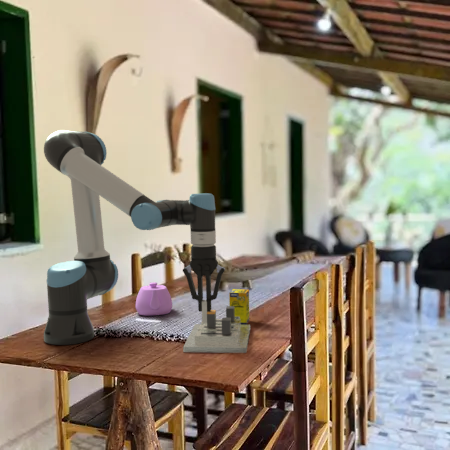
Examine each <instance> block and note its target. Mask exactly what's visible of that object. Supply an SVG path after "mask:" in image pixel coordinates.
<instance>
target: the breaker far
mask: <svg viewBox="0 0 450 450" xmlns="http://www.w3.org/2000/svg"><path fill="white" fill-rule="evenodd" d="M225 318H231V321H234V319H235V309H234V306H230V305H229V306H227V305H226V308H225Z"/></svg>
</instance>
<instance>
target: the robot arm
mask: <svg viewBox="0 0 450 450" xmlns="http://www.w3.org/2000/svg"><path fill="white" fill-rule="evenodd" d="M107 153H108V152H107V147H106V144H105V142H104V141H103V139H102V138H101V137H100V136H99V135H98V134H95V133H94V132H93V133H92V132H89V131H79V130H74V131H73V130H65V129H59V130H57V131H54V132H53V133H51V134H50V135H49V136H48V137H47V138H46V139H45V142H44V144H43V154H44V157H45V159H46V162H48V164H49V165H50V166H51V167H52V168H54V169H55V170H57V171H58V172H59V173H61V174H62V175H64V176H67V178H69V179H70V186H71V193H72V194H71V195H72V204H73V212H74V223H75V233H76V235H75V236H76V244H77V253H76V254H75V255H74V257H73V260H67V261H64V262H63V261H61V262H58V263H56V264H53V265H51V266H50V267H48V269H47V272H46V276H47V277H46V285H47V286H46V289H47V303H48V305H47V306H48V317H47V321H46V324H45V328H44V332H43V341H44V343H46V344H49V345H57V346H68V345H76V344H82V343H85V342H88V341H90V340H92V339H93V338H94V337H95V328H94V325H93V323H92V321H91V318H90V316H89V312H88V300H89V299H92V298H96V297H98V296H102V295H105V294H107V293H109V292H110V291H112V289H114V288H115V287H116V285H117V283H118V279H119V269H118V266H117V265H116V263H115V262H114V261H113V260H111V255H110V252H108V251H107V250H106V248H105V242H104V232H103V230H104V228H103V222H102V211H101V199H100V197H101V198H103V199H104V200H105V201H107V202H109V203H110V204H111V205H112V206H114V207H116V209H118V210H120V211H121V212H122V213H125V214H126V215H127V216H129V217H130V220H131V222H132V224H133V226H135V228H136V229H138V230H140V231H151V230H156V229H160V228H164V227H169V226H170V227H171V226H190V244H191V247H190V257H191V258H190V262H189V265H187V266H185V267H184V268H183V269H182V272H183V273H184V275H185V277H186V280H187V283H188V288H189V292H190V294H191V295H190V296H191V299H192V300H195V301H197V303H198V304H197V305H198V307H197V308H198V312H201V322H202V323H207V312H210V311H211V310H212V301H213V300H216V299H217V298H218V294H219V288H220V285H221V279H222V275H223V274H224V273H225V271H226V267H225V266H221V265H219V262H218V260H217V246H216V245H215V244H216V243H217V242H216V241H217V240H216V239H217V238H216V237H217V235H216V234H217V233H216V232H217V231H216V210H217V209H216V203H215V202H216V200H215V195H213V194H212V193H207V192H205V193H191V194H190V195H189V199H186V200H183V199H181V200H179V199H175V200H174V199H161V200H156V201H154V200H153V199H151V198H149V196H147V195H145V194H144V193H142V192H141V191H140V190H138V189H136V188H135V187H134V186H132V185H130V184H129V183H128V182H126V181H125V180H124V179H122V178H120V177H118V176H117V175H116V174H114V173H113V172H111V171H110V170H109V169H107V168H105V167H104V166H103V164H104V163H105V162H104V161H105V160H106V159H107ZM215 270H216V273H217V275H216V277H215V283H214V288H213V293H212V274H213V273H214V272H215ZM192 271H193V272H194V274H196V279H197V290H196V286H195V282H194V279H193V276H192ZM204 276H205V291H206V292H205V293H206V294H205V295H206V299H204V287H203V286H204V284H203V282H204V281H203V277H204Z"/></svg>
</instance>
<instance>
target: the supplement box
mask: <svg viewBox="0 0 450 450" xmlns="http://www.w3.org/2000/svg"><path fill="white" fill-rule="evenodd" d="M228 297H229V298H228V299H229V306H234V309H235V319H241V325H248V323H249V321H250V289H246V288H245V289H241V288H238V289H237V288H233V289H232V290H231V291H230V292H229V293H228Z"/></svg>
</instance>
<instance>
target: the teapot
mask: <svg viewBox="0 0 450 450" xmlns="http://www.w3.org/2000/svg"><path fill="white" fill-rule="evenodd" d="M135 300H136V301H135V310H136V312H137V313H138V314H139V315H140V316H161V315H167V314H170V312H171V311H172V309H173V301H172V297H171V293H170V292H169V290H168V288H167V286H165V285H164V284H163V285H162V284H158V282H149V285H144V286H141V287H140V289H139V291H138V294H137V296H136V299H135Z"/></svg>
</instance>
